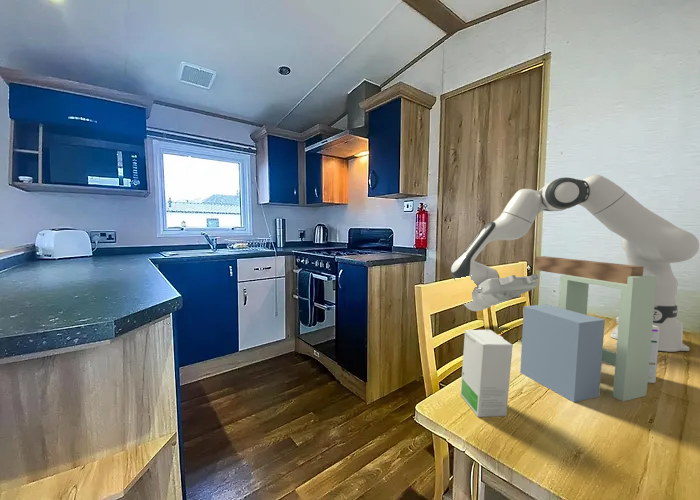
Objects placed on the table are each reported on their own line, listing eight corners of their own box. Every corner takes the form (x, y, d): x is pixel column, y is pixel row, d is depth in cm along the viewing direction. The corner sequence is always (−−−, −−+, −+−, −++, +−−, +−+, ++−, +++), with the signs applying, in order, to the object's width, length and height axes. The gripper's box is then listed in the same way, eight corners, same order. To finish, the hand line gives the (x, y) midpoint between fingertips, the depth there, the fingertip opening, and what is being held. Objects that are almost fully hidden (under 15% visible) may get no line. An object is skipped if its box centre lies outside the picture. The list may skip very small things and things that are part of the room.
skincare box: (459, 395, 68) (462, 329, 67) (487, 394, 68) (490, 328, 67) (478, 418, 59) (482, 343, 58) (509, 417, 60) (513, 343, 59)
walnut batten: (534, 269, 89) (535, 256, 88) (544, 269, 90) (545, 256, 90) (630, 284, 66) (631, 267, 66) (642, 283, 67) (643, 266, 67)
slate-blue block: (520, 372, 79) (523, 306, 77) (542, 368, 81) (546, 304, 80) (573, 402, 65) (579, 322, 64) (599, 396, 68) (604, 319, 66)
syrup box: (656, 383, 74) (662, 327, 72) (629, 381, 75) (633, 325, 74) (639, 372, 79) (644, 319, 78) (613, 370, 80) (618, 318, 79)
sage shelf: (554, 368, 81) (560, 267, 79) (575, 364, 83) (582, 266, 81) (623, 401, 66) (633, 277, 64) (646, 395, 68) (656, 275, 66)
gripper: (469, 283, 104) (496, 268, 92) (514, 280, 110) (545, 266, 98) (475, 301, 101) (503, 288, 90) (521, 297, 108) (553, 284, 96)
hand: (526, 276), depth 94 cm, fingers open, 8 cm apart
